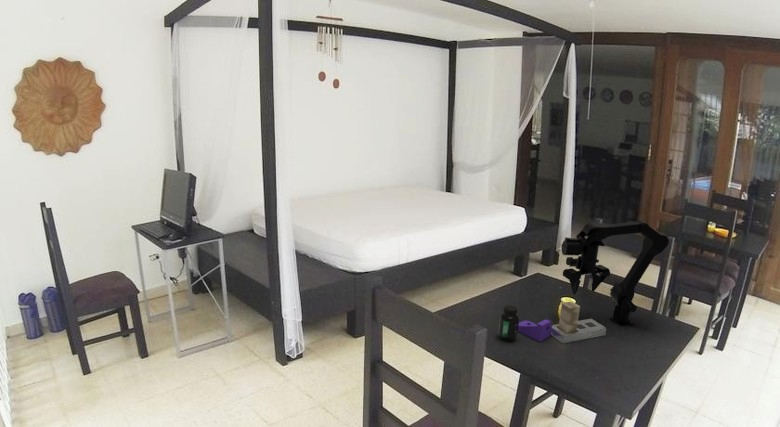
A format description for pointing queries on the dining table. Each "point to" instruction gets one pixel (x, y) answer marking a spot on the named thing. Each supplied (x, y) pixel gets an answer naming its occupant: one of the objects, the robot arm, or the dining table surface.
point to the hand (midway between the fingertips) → (583, 292)
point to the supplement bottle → (508, 324)
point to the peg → (569, 317)
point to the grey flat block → (580, 331)
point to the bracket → (536, 329)
